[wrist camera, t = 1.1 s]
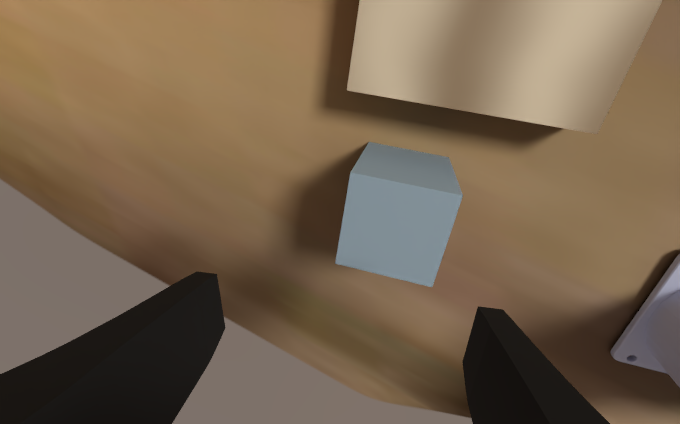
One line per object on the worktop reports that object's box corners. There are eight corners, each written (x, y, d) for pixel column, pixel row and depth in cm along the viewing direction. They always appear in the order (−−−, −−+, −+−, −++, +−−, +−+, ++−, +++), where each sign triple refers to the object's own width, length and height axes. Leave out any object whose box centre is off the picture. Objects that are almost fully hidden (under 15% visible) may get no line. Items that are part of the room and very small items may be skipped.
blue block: (448, 157, 18) (462, 195, 13) (427, 228, 20) (432, 287, 15) (369, 141, 19) (350, 172, 13) (356, 212, 21) (335, 263, 15)
